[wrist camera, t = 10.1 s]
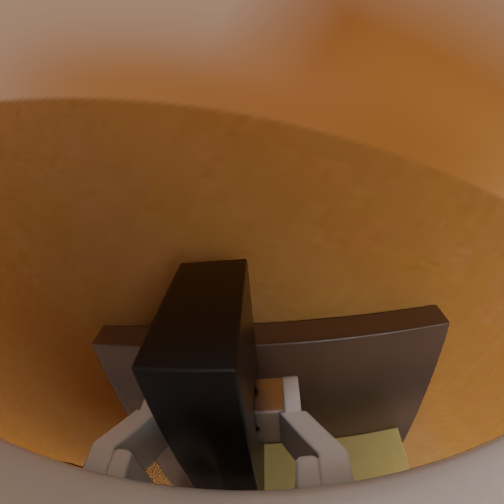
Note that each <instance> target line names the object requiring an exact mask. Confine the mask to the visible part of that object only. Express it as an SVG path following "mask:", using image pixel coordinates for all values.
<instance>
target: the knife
mask: <svg viewBox="0 0 504 504" xmlns="http://www.w3.org/2000/svg"><path fill="white" fill-rule="evenodd" d="M131 369H132V372H133V375H134V377H135V379H136V381H137V384H138V386H139V388H140V390H141V392H142V395H143V397H144V399H145V401H146V403H147V405H148V407H149V409H150V411H151V413H152V415H153V417H154V419H155V421H156V423H157V425H158V427H159V429H160V431H161V433H162V435H163V437H164V438H165V440H166V442H167V444H168V446H169V448H170V449H171V451H172V453H173V455H174V457H175V458H176V460H177V462H178V463H179V465H180V467H181V469H182V470H183V472H184V474H185V475H186V477H187V478H188V480H189V482H190V483H191V485H192V486H193V488H198V489H213V490H264V442H258V438H257V432H256V431H257V426H256V425H255V418H254V396H255V388H254V387H255V378H259V371H258V362H257V352H256V343H255V334H254V324H253V315H252V305H251V295H250V286H249V276H248V266H247V260H246V259H238V260H223V261H208V262H193V263H182V264H180V266H179V268H178V270H177V272H176V274H175V276H174V278H173V280H172V282H171V284H170V286H169V288H168V290H167V292H166V294H165V296H164V298H163V300H162V303H161V305H160V307H159V309H158V311H157V313H156V315H155V317H154V319H153V321H152V323H151V325H150V328H149V330H148V332H147V334H146V336H145V338H144V340H143V343H142V345H141V347H140V349H139V351H138V353H137V356H136V358H135V360H134V362H133V364H132V367H131Z"/></svg>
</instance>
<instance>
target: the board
mask: <svg viewBox="0 0 504 504" xmlns="http://www.w3.org/2000/svg"><path fill="white" fill-rule="evenodd" d="M448 327H449V321H448V319H447V318H446V317H445V315H444V314H443V313H442V312H441V310H440V309H439V308H438V306H437V305H434V306H427V307H421V308H414V309H406V310H399V311H391V312H383V313H375V314H367V315H358V316H348V317H338V318H328V319H317V320H304V321H291V322H277V323H260V324H254V334H255V343H256V352H257V362H258V371H259V378H272V377H282V378H283V377H287V376H297V377H298V384H299V392H300V401H301V411H307V412H308V413H309V414H310V415H311V416H312V417H313V418H314V419H315V420H316V421H317V422H318V423H319V424H320V425H321V426H322V427H323V428H324V429H325V430H326V431H327V432H328V433H330V434H331V435H332V436H333V437H334V438H340V437H347V436H354V435H360V434H366V433H371V432H377V431H382V430H387V429H392V428H396V427H397V428H398V431H399V434H400V437H401V440H402V443H403V441H404V439H405V437H406V435H407V433H408V431H409V429H410V427H411V425H412V423H413V420H414V418H415V416H416V414H417V412H418V409H419V407H420V405H421V402H422V400H423V398H424V395H425V393H426V390H427V388H428V385H429V383H430V380H431V378H432V375H433V372H434V369H435V367H436V364H437V361H438V358H439V355H440V352H441V349H442V346H443V343H444V340H445V337H446V334H447V330H448ZM149 328H150V327H141V326H103V328H102V329H101V331H100V332H99V334H98V335H97V337H96V338H95V340H94V342H93V343H92V346H93V348H94V350H95V352H96V355H97V357H98V359H99V361H100V363H101V365H102V367H103V369H104V372H105V374H106V376H107V378H108V380H109V382H110V384H111V386H112V388H113V389H114V391H115V393H116V395H117V397H118V399H119V401H120V403H121V404H122V406H123V408H124V410H125V412H126V413H127V415H128V416H129V415H130V414H132V413H133V412H134V411H136V410H140V409H141V406H142V404H143V401H144V397H143V395H142V392H141V390H140V388H139V386H138V384H137V381H136V379H135V377H134V375H133V372H132V369H131V367H132V364H133V362H134V360H135V358H136V356H137V353H138V351H139V349H140V347H141V345H142V343H143V340H144V338H145V336H146V334H147V332H148V330H149ZM277 443H281V442H264V444H277ZM155 461H156V462H157V464H158V465H159V467H160V468H161V469H162V471H163V472H164V474H165V475H166V477H167V478H168V479H169V481H170V482H171V484H172V485H173V486H177V487H187V488H193V486H192V485H191V483H190V482H189V480H188V478H187V477H186V475H185V474H184V472H183V470H182V469H181V467H180V465H179V463H178V462H177V460H176V458H175V457H174V455H173V453H172V451H171V449H170V448H169V446H168V447H167V448H166V449H165V451H164V452H163V453H162V454H161V455H160V456H159V457H158V458H157V459H156V460H155Z"/></svg>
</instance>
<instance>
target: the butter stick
mask: <svg viewBox="0 0 504 504" xmlns="http://www.w3.org/2000/svg"><path fill="white" fill-rule="evenodd" d="M335 439H336V440H337V441H338V442H339V443H340V444H341V445H343V446H344V447H345V448H346V449H347V450H348V454H349V459H350V465H351V470H352V476H353V481H359V480H364V479H369V478H374V477H379V476H384V475H388V474H392V473H396V472H400V471H404V470H408V469H411V468H410V465H409V462H408V459H407V455H406V452H405V449H404V446H403V443H402V440H401V437H400V434H399V431H398V428H397V427H396V428H392V429H387V430H382V431H377V432H371V433H366V434H360V435H354V436H347V437H340V438H335ZM295 470H296V461H295V460H294V459H293V457H292V456H291V455H290V453H289V452H288V451H287V450H286V448H285V447H284V446H283V444H282V443H277V444H264V490H282V489H294V488H295Z"/></svg>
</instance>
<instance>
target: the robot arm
mask: <svg viewBox="0 0 504 504" xmlns="http://www.w3.org/2000/svg"><path fill="white" fill-rule="evenodd" d="M254 388H255V396H254V418H255V425H256V426H257V431H256V432H257V438H258V442H281V443H282V444H283V446H284V447H285V448H286V450H287V451H288V452H289V453H290V455H291V456H292V457H293V459H294V460H295V461H296V470H295V488H294V489H282V490H213V489H198V488H187V487H177V486H169V485H161V484H154V482H153V481H152V480H151V478H150V477H149V476H148V474H147V473H146V472H145V471H146V470H147V468H148V467H149V466H150V465H151V464H152V463H153V462H154V461H155V460H156V459H157V458H158V457H159V456H160V455H161V454H162V453H163V452H164V451H165V449H166V448H167V447H168V444H167V442H166V440H165V438H164V437H163V435H162V433H161V431H160V429H159V427H158V425H157V423H156V421H155V419H154V417H153V415H152V413H151V411H150V409H149V407H148V405H147V403H146V401H145V399H144V401H143V404H142V406H141V409H140V410H136V411H134V412H133V413H132V414H130V415H129V416H128V417H126V418H125V419H124V420H122V421H121V422H120V423H118V424H117V425H116V426H114V427H113V428H112V429H110V430H109V431H108V432H106V433H105V434H104V435H102V436H101V437H100V438H98V439H97V440H96V441H94V442H93V444H92V446H91V449H90V451H89V454H88V456H87V459H86V461H85V464H84V466H83V468H80V467H76V466H73V465H70V464H66V463H63V462H60V461H57V460H54V459H51V458H48V457H45V456H43V455H40V454H37V453H34V452H32V451H29V450H27V449H24V448H22V447H19V446H17V445H14V444H12V443H10V442H8V441H5V440H3V439H1V438H0V504H504V434H503V435H501V436H499V437H497V438H495V439H492V440H490V441H488V442H486V443H483V444H481V445H479V446H476V447H474V448H471V449H469V450H466V451H463V452H461V453H458V454H455V455H453V456H450V457H447V458H444V459H441V460H438V461H435V462H432V463H429V464H425V465H422V466H419V467H415V468H412V469H408V470H404V471H400V472H396V473H392V474H388V475H384V476H379V477H374V478H369V479H364V480H359V481H353V476H352V470H351V465H350V459H349V454H348V450H347V449H346V448H345V447H344V446H343V445H341V444H340V443H339V442H338V441H337V440H336V439H335V438H334V437H333V436H332V435H331V434H330V433H328V432H327V431H326V430H325V429H324V428H323V427H322V426H321V425H320V424H319V423H318V422H317V421H316V420H315V419H314V418H313V417H312V416H311V415H310V414H309V413H308V412H307V411H301V401H300V392H299V384H298V377H297V376H287V377H283V378H282V377H272V378H255V387H254Z"/></svg>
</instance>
